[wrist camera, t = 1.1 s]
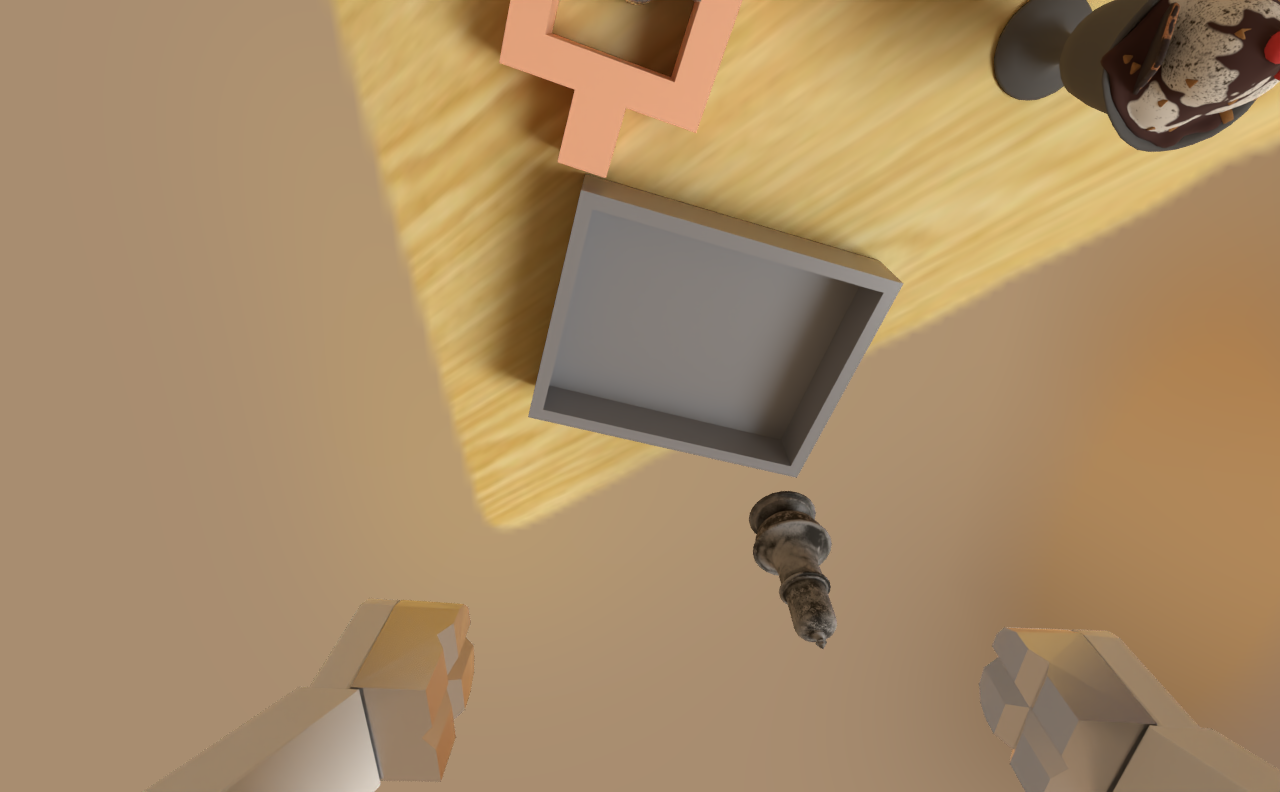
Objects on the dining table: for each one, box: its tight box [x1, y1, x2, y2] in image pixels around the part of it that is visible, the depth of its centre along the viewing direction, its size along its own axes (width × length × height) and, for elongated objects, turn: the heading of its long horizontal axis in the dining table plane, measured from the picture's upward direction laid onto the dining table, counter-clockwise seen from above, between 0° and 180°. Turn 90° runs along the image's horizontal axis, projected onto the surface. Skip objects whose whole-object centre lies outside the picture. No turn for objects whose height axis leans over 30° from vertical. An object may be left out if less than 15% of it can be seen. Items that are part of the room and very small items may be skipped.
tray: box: [528, 174, 903, 478], centre depth 38 cm, size 15×19×4 cm
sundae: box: [994, 0, 1280, 152], centre depth 25 cm, size 7×7×15 cm
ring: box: [499, 0, 742, 178], centre depth 29 cm, size 14×10×3 cm
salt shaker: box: [749, 491, 837, 649], centre depth 43 cm, size 6×6×12 cm
